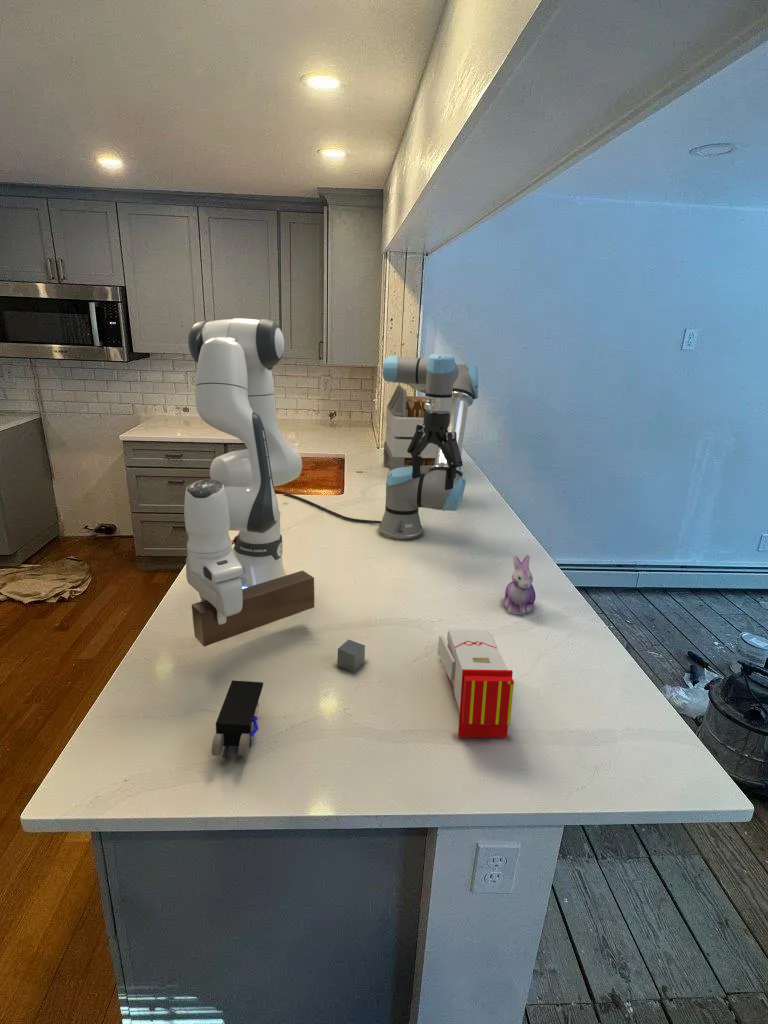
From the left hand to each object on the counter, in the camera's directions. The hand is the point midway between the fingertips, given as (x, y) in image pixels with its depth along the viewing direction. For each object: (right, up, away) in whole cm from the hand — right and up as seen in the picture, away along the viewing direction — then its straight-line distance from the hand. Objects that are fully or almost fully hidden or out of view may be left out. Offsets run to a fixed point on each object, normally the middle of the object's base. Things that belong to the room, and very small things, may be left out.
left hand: (214, 616), depth 123 cm
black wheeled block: (+11, -19, -20) cm, 29 cm away
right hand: (+51, +31, +45) cm, 74 cm away
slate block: (+29, -11, +3) cm, 32 cm away
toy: (+55, -15, -4) cm, 57 cm away
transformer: (+54, +41, +152) cm, 167 cm away
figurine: (+73, -3, +31) cm, 80 cm away
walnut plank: (+8, -3, +8) cm, 11 cm away
